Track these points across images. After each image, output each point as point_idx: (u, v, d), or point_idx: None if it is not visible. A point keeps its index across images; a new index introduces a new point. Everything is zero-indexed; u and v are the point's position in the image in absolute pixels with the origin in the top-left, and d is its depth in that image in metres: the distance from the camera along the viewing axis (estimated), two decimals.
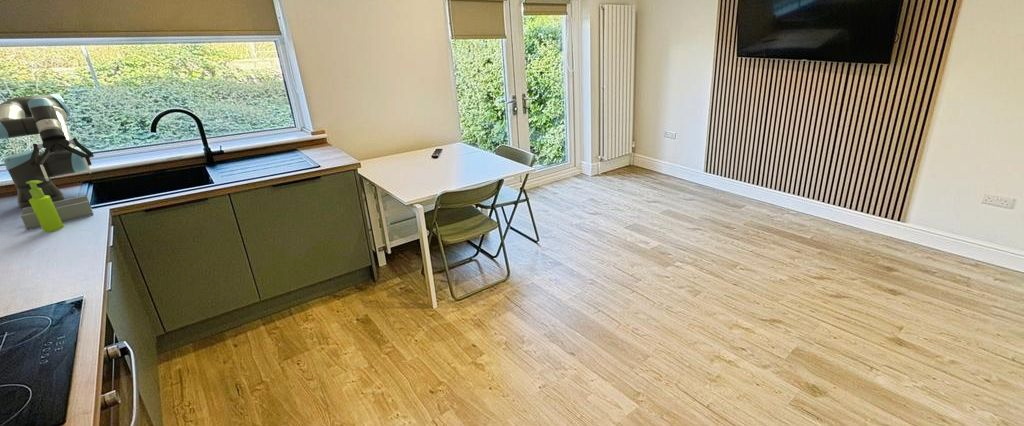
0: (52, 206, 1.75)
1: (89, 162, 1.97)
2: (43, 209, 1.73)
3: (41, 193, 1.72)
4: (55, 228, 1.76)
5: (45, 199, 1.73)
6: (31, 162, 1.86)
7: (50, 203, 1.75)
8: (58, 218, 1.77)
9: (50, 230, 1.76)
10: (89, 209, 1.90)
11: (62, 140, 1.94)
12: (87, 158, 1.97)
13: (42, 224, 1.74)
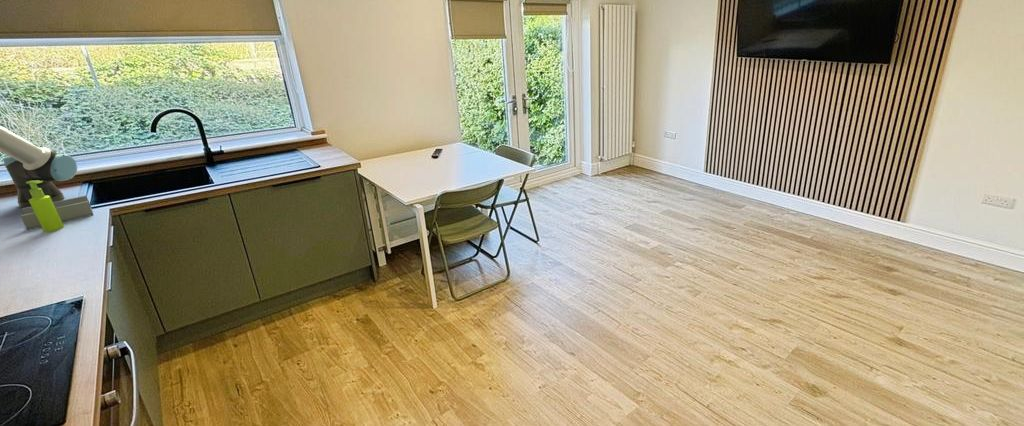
0: (52, 206, 1.75)
1: None
2: (43, 209, 1.73)
3: (41, 193, 1.72)
4: (55, 228, 1.76)
5: (45, 199, 1.73)
6: None
7: (50, 203, 1.75)
8: (58, 218, 1.77)
9: (50, 230, 1.76)
10: (89, 209, 1.90)
11: None
12: None
13: (42, 224, 1.74)
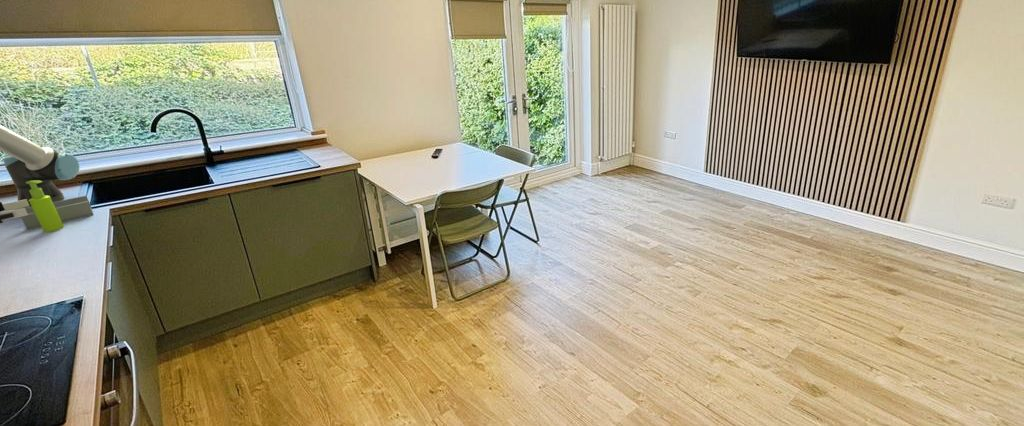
0: (52, 206, 1.75)
1: None
2: (43, 209, 1.73)
3: (41, 193, 1.72)
4: (55, 228, 1.76)
5: (45, 199, 1.73)
6: None
7: (50, 203, 1.75)
8: (58, 218, 1.77)
9: (50, 230, 1.76)
10: (89, 209, 1.90)
11: None
12: None
13: (42, 224, 1.74)
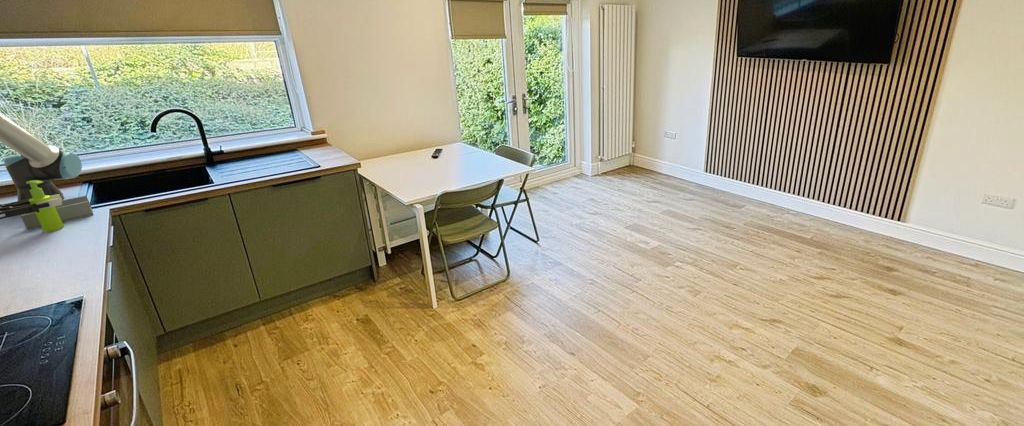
0: None
1: None
2: (43, 209, 1.72)
3: (41, 193, 1.72)
4: (55, 228, 1.76)
5: (45, 199, 1.72)
6: None
7: None
8: (58, 218, 1.77)
9: (50, 230, 1.76)
10: (89, 209, 1.90)
11: None
12: None
13: (42, 224, 1.74)
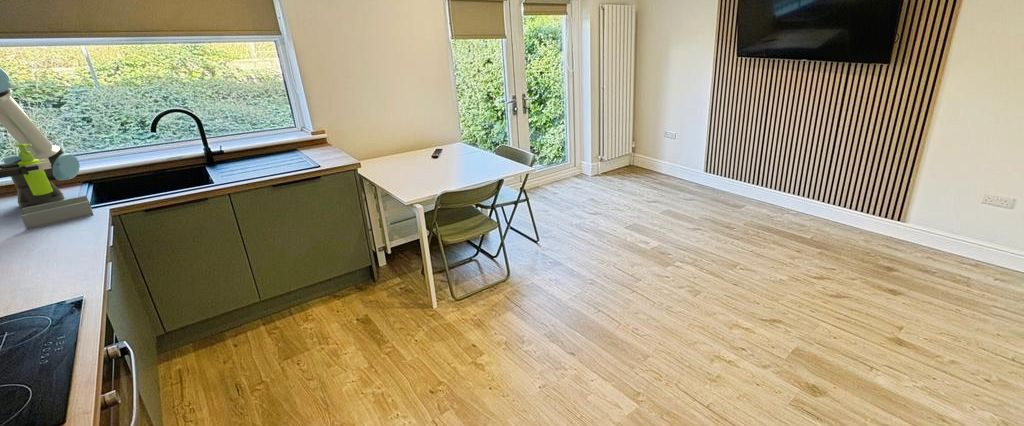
0: (41, 170, 1.77)
1: None
2: (32, 172, 1.74)
3: (30, 156, 1.74)
4: (44, 191, 1.78)
5: (34, 162, 1.74)
6: None
7: None
8: (47, 182, 1.79)
9: (39, 193, 1.77)
10: (89, 209, 1.90)
11: None
12: None
13: (31, 187, 1.76)
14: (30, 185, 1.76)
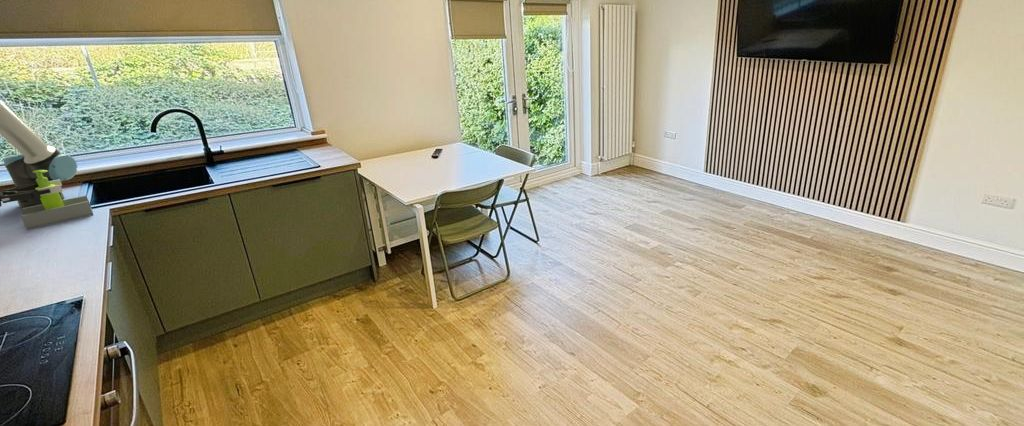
0: (57, 194, 1.85)
1: None
2: (48, 197, 1.83)
3: (47, 182, 1.83)
4: None
5: None
6: None
7: None
8: None
9: None
10: (89, 209, 1.90)
11: None
12: None
13: None
14: (46, 209, 1.84)
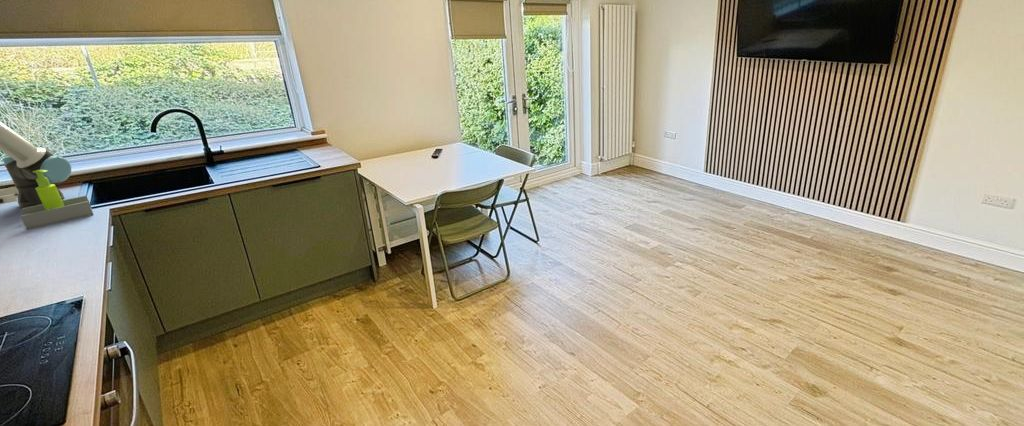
0: (57, 194, 1.85)
1: None
2: (49, 197, 1.83)
3: (47, 182, 1.83)
4: None
5: (51, 187, 1.83)
6: None
7: (56, 191, 1.85)
8: None
9: None
10: (89, 209, 1.90)
11: None
12: None
13: None
14: (47, 209, 1.84)
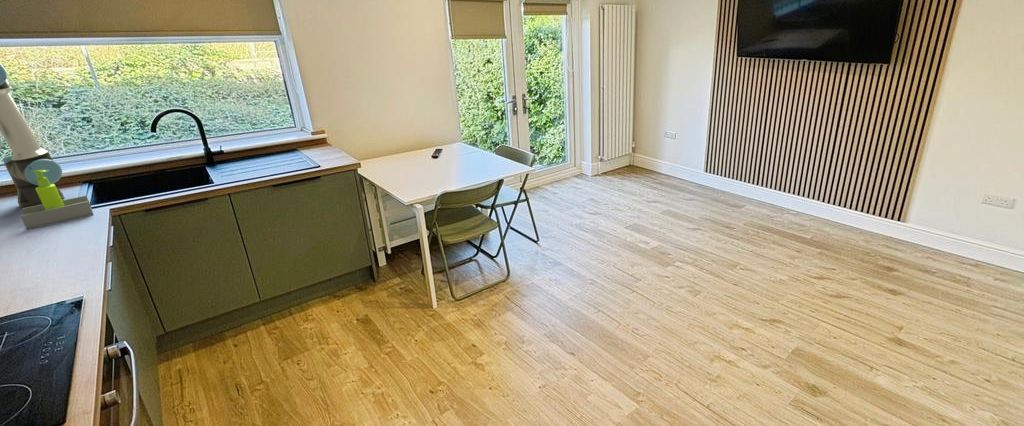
0: (57, 194, 1.85)
1: None
2: (48, 197, 1.83)
3: (47, 182, 1.83)
4: None
5: (51, 187, 1.83)
6: None
7: (56, 191, 1.85)
8: None
9: None
10: (89, 209, 1.90)
11: None
12: None
13: None
14: (46, 209, 1.84)
